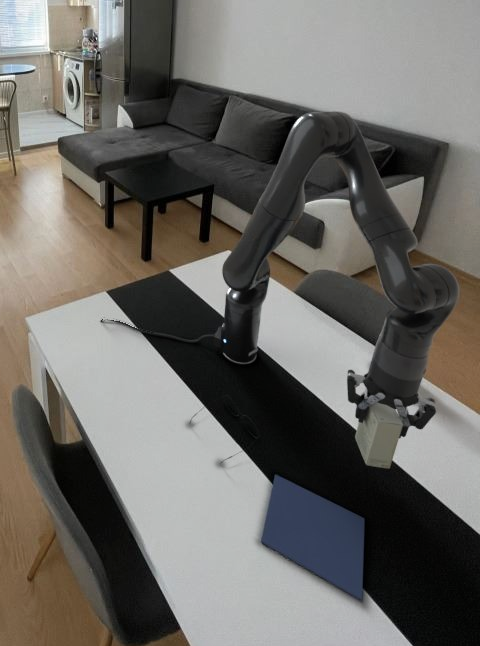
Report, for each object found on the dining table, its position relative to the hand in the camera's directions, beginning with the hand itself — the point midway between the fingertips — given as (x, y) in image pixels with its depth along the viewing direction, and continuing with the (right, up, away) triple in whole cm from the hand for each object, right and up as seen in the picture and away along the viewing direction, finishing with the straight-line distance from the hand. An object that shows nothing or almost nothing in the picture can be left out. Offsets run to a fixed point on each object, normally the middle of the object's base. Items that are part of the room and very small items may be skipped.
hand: (378, 426), depth 84 cm
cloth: (-14, -18, -3) cm, 23 cm away
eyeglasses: (-25, -12, +16) cm, 32 cm away
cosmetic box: (0, -7, +3) cm, 8 cm away
